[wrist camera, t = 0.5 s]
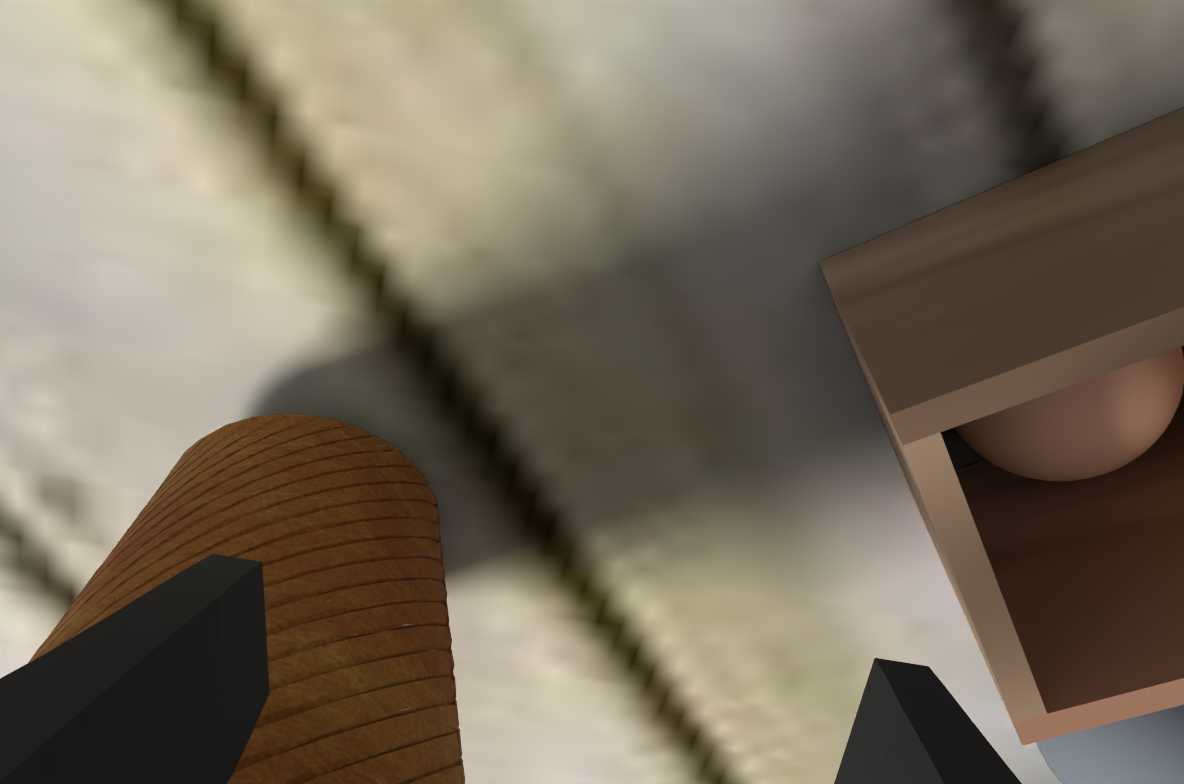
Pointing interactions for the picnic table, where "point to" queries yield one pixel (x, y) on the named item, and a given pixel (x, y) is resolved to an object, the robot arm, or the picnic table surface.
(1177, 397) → the terracotta ball in well
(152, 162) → the picnic table surface
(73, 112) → the picnic table surface
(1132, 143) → the divided wooden sorting box
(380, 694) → the disposable coffee cup
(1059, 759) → the charcoal ball
